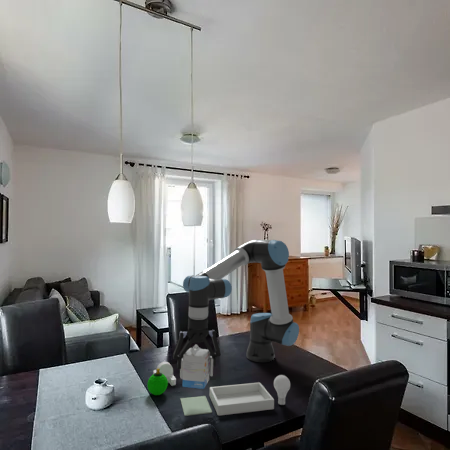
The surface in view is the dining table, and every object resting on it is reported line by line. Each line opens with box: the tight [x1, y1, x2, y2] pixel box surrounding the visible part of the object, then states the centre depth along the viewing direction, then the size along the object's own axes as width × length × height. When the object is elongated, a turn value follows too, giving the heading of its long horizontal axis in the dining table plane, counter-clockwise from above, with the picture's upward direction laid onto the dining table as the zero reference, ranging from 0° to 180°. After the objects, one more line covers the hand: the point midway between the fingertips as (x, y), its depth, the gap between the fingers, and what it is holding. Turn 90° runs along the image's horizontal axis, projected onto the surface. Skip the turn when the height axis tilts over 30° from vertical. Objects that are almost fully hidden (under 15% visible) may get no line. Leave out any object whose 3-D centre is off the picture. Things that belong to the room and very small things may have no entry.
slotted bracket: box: [152, 361, 177, 387], centre depth 144 cm, size 13×7×8 cm, turn 26°
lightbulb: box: [273, 374, 291, 406], centre depth 126 cm, size 6×6×11 cm
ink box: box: [182, 344, 211, 390], centre depth 123 cm, size 9×8×13 cm
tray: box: [208, 381, 275, 416], centre depth 127 cm, size 22×15×4 cm
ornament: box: [146, 368, 169, 396], centre depth 131 cm, size 8×8×10 cm
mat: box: [179, 395, 213, 417], centre depth 123 cm, size 10×12×1 cm
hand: (196, 376), depth 123 cm, fingers closed on ink box, 11 cm apart
